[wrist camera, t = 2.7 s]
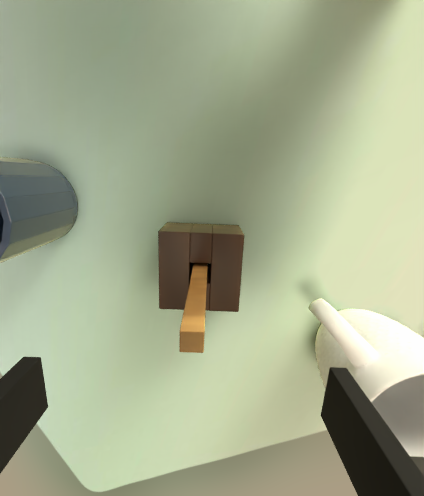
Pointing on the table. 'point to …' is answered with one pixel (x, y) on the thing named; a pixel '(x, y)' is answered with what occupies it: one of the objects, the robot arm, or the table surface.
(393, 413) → the mug
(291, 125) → the table surface
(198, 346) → the stir stick
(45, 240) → the cup
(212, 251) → the stick holder
